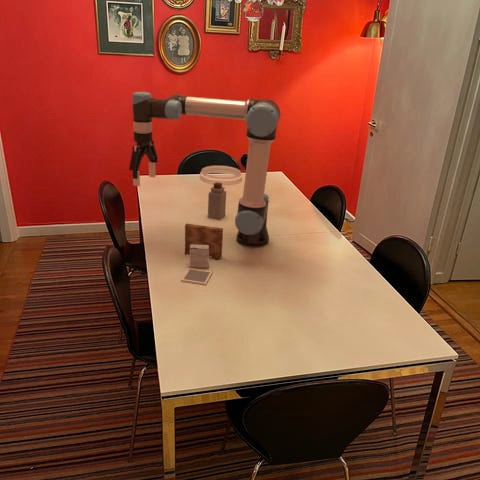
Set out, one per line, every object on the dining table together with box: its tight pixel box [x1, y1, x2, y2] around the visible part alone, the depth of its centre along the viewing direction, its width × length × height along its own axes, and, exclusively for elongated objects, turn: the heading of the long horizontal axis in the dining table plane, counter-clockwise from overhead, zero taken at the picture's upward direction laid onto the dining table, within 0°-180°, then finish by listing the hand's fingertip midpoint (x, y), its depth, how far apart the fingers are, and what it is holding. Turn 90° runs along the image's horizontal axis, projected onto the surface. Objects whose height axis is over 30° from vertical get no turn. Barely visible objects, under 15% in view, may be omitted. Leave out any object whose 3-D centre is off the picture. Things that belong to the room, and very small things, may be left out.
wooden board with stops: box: [184, 222, 224, 260], centre depth 200 cm, size 16×5×13 cm, turn 79°
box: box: [189, 244, 210, 269], centre depth 192 cm, size 8×4×9 cm, turn 92°
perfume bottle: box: [207, 182, 227, 221], centre depth 239 cm, size 7×7×18 cm
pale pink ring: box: [199, 165, 243, 187], centre depth 301 cm, size 27×27×6 cm
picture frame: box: [180, 267, 213, 286], centre depth 184 cm, size 10×10×1 cm
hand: (144, 181), depth 201 cm, fingers open, 13 cm apart
